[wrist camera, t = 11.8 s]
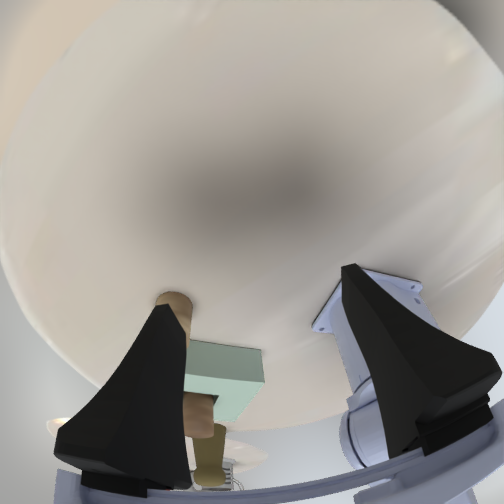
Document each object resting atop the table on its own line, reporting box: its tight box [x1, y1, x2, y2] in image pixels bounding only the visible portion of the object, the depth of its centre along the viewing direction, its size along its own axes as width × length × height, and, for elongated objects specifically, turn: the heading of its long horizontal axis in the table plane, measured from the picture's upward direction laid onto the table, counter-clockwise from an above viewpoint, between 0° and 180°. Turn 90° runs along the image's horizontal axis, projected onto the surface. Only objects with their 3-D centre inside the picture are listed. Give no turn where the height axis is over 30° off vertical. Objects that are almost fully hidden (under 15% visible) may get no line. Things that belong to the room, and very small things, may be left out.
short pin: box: [156, 292, 192, 348], centre depth 23 cm, size 3×3×4 cm
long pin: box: [183, 391, 214, 438], centre depth 28 cm, size 3×3×8 cm
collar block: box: [183, 340, 265, 422], centre depth 29 cm, size 11×11×4 cm
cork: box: [192, 423, 226, 487], centre depth 38 cm, size 6×6×11 cm
